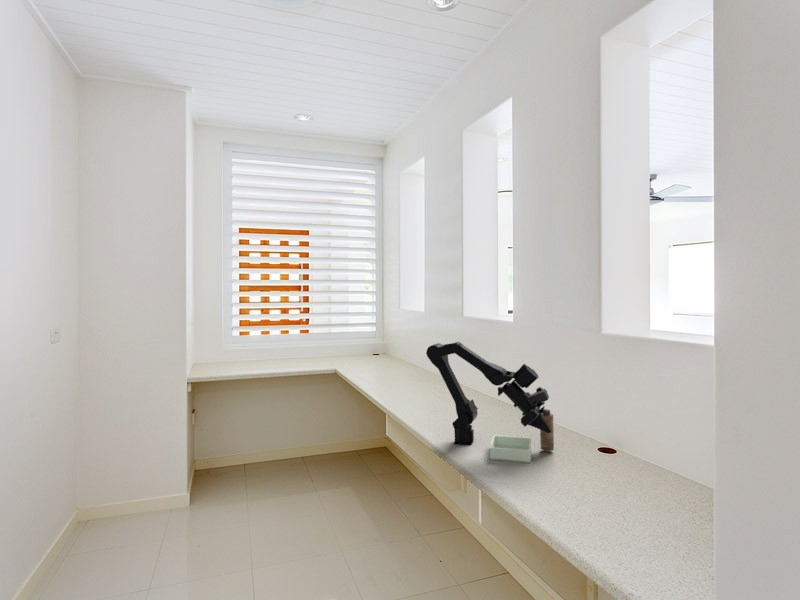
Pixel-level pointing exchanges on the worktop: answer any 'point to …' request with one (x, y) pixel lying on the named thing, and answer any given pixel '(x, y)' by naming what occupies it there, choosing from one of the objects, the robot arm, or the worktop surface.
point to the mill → (545, 437)
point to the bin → (510, 449)
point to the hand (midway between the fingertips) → (551, 430)
